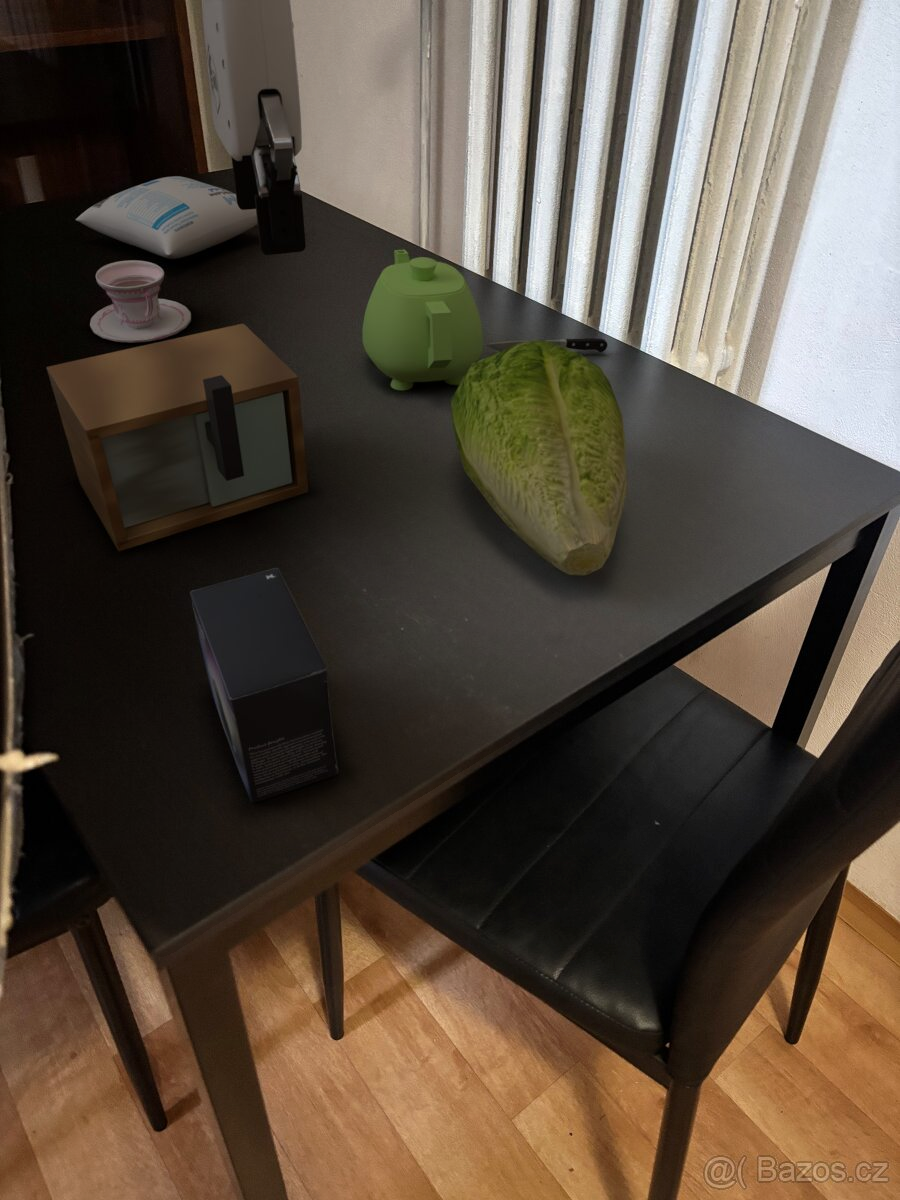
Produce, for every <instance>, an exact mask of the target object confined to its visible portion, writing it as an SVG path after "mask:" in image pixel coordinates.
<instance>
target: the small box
mask: <svg viewBox="0 0 900 1200" xmlns="http://www.w3.org/2000/svg"><path fill="white" fill-rule="evenodd" d="M281 572H282V571H280V569H279V568H278V567H274V568H270V569H268V570H263V571H259V572H256V573H252V574H249V575H245V576H242V577H237V578H234V579H230V580H227V581H223V582H219V583H215V584H212V585H209V586H205V587H201V588H198V589H193V590H191V591H190V592H189V596H190V600H191V605H192V610H193V616H194V619H195V625H196V630H197V633H198V639H199V643H200V648H201V652H202V657H203V661H204V666H205V669H206V670H205V671H206V672H207V673H206V674H207V679H208V682H209V683H208V684H209V686H210V691H211V694H212V698H213V700H214V701H213V702H214V704H215V707H216V710H217V714H218V716H219V719H220V722H221V725H222V729H223V731H224V734H225V737H226V739H227V742H228V745H229V749H230V751H231V753H232V756H233V759H234V762H235V764H236V768H237V770H238V772H239V775H240V778H241V780H242V783H243V786H244V788H245V791H246V793H247V796H248V798H249V801H250V802H251V803H252V804H254V803H255V804H256V803H258V802H263V801H265V800H268V799H271V798H273V797H276V796H279V795H283V794H285V793H286V794H287V793H289V792H291V791H295V790H297V789H300V788H303V787H306V786H309V785H313V784H315V783H317V782H321V781H324V780H326V779H329V778H332V777H335V776H337V775H338V774H339V772H340V771H339V766H338V759H337V752H336V747H335V746H336V744H335V735H334V729H333V719H332V711H331V703H330V702H331V700H330V688H329V687H330V686H329V668H328V665H327V664H326V662H325V659H324V658H323V656H322V654H321V651H320V650H319V647H318V645H317V643H316V642H315V640H314V637H313V635H312V633H311V631H310V629H309V627H308V624H307V623H306V621H305V619H304V617H303V615H302V613H301V611H300V609H299V607H298V605H297V603H296V601H295V599H294V597H293V595H292V593H291V590H290V588H289V587H288V585H287V583H286V580H285V578H284V576H283V575H282V573H281Z"/></svg>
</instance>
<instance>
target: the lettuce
mask: <svg viewBox="0 0 900 1200" xmlns="http://www.w3.org/2000/svg"><path fill="white" fill-rule="evenodd" d="M535 340H536V341H529V342H522V343H517V344H515V345H513V346H511V347H509V348H507V349H505V350H503V351H501V352H500V351H498V352H496V353H495V354H492V355H490V356H487V357H484V358H482V359H479V360H478V361H477V362H474V363H472V364H471V366H470V368H469V369H468V371H467V373H466V374H465V375H464V378H463V379H462V381H461V383H460V385H457V388H456V390H455V391H454V393H453V395H452V397H451V398H450V406H451V407H450V408H451V418H452V419H451V420H452V427H453V432H454V437H455V442H456V446H457V450H458V453H459V456H460V460H461V463H462V466H463V470H464V472H465V473H466V475H467V476H468V477H469V479H470V480H471V482H472V483H473V484H474V486H475V487H476V488H477V490H478V491H479V492H480V494H481V495H482V496H483V498H484V499H485V500H486V502H487V503H488V504H489V506H490V507H491V508H492V510H493V511H494V512H495V513H496V514H497V515H498V517H499V518H500V519H501V520H502V521H503V522H504V523H505V525H506V526H507V527H508V528H509V529H510V530H511V531H512V532H513V533H515V535H517V537H518V538H520V539H521V540H522V541H523V542H524V543H525V544H526V545H527V546H528V547H529V548H530V549H531V550H532V551H534V553H536V554H537V555H538V556H539V557H541V558H542V559H543V560H545V562H547V563H548V564H550V565H552V566H553V567H555V568H556V569H557V570H559V571H561V572H562V573H564V574H566V575H569V576H587V575H589V574H591V573H594V572H596V571H598V570H600V569H602V568H603V567H604V565H605V563H606V561H607V560H608V559H609V557H610V555H611V552H612V549H613V547H614V543H615V540H616V535H617V532H618V528H619V524H620V520H621V518H622V514H623V511H624V507H625V504H626V499H627V496H628V482H627V466H626V465H627V462H626V457H627V456H626V455H627V453H626V436H625V428H624V427H625V426H624V420H623V414H622V411H621V409H620V406H619V403H618V401H617V398H616V395H615V392H614V390H613V387H612V385H611V382H610V380H609V378H608V377H607V375H606V374H605V372H604V371H603V370H602V368H601V367H600V366H599V365H597V364H595V363H594V362H592V361H591V360H589V359H588V358H587V357H585V356H583V355H582V354H580V353H578V352H576V351H574V350H573V349H570V348H567V347H562V346H560V345H557V344H554V343H551V342H548V341H545V340H546V339H535Z"/></svg>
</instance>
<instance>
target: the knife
mask: <svg viewBox="0 0 900 1200" xmlns="http://www.w3.org/2000/svg"><path fill="white" fill-rule="evenodd" d="M536 340H537V339H535V340H533V339H532V340H531V339H530V340H529V339H528V340H507V341H496V342H490V343H486V344H484V346H485V347H486V348H488V349H490V350H493V351H497V352H501V351H503V350H505V349H507V348H509V347H511V346H513V345H515V344H517V343H522V342H529V341H536ZM544 340H545V341H548V342H551V343H554V344H557V345H560V346H562V347H565V348H567V349H569V350H577V351H578V350H579V351H591V350H593V351H597V352H599V353H603V352H605V351H606V350H607V348H608V345H609V344H608V342H607V341H606V340H605V339H604V338H595V337H594V338H593V337H590V338H589V337H588V338H560V339H544Z"/></svg>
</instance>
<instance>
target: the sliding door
mask: <svg viewBox="0 0 900 1200" xmlns="http://www.w3.org/2000/svg"><path fill="white" fill-rule="evenodd" d="M203 383H204V389H205V395H206V401H207V407H208V410H207V411H204V412H200V413H196V414H194V415H195V420H196V426H197V431H198V437H199V443H200V448H201V454H202V459H203V465H204V471H205V476H206V482H207V487H208V493H209V499H210V504H211V505H212V507H214V506H217V505H221V504H224V503H227V502H231V501H234V500H237V499H240V498H244V497H247V496H250V495H253V494H257V493H260V492H263V491H266V490H270V489H273V488H276V487H280V486H283V485H286V484H289V483H292V475H291V465H290V455H289V446H288V436H287V427H286V417H285V407H284V398H283V392H282V391H281V392H277V393H273V394H269V395H265V396H261V397H258V398H254V399H250V400H246V401H242V402H238V403H234V401H233V395H232V388H231V385H230V384H229V382H228V381H227V380H226V379H225V378H224V377H223V376H222V375H220V376H216V377H211V378H207V379H203Z"/></svg>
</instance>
